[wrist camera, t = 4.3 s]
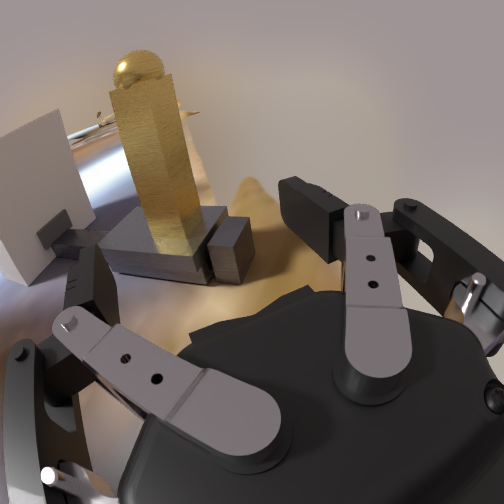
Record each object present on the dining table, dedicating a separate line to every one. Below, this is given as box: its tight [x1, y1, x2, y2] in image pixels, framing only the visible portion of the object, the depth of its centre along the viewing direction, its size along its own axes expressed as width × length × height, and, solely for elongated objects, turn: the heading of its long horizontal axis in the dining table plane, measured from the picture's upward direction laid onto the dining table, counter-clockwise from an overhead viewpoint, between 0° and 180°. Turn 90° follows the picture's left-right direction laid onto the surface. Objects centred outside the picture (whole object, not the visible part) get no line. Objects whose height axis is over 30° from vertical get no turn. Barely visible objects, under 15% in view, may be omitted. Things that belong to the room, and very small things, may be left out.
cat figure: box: [97, 112, 115, 128], centre depth 120 cm, size 10×9×25 cm
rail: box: [51, 216, 255, 285], centre depth 28 cm, size 26×4×4 cm, turn 74°
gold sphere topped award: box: [98, 50, 228, 284], centre depth 22 cm, size 10×7×18 cm
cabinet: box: [0, 109, 96, 286], centre depth 29 cm, size 8×15×16 cm, turn 164°
